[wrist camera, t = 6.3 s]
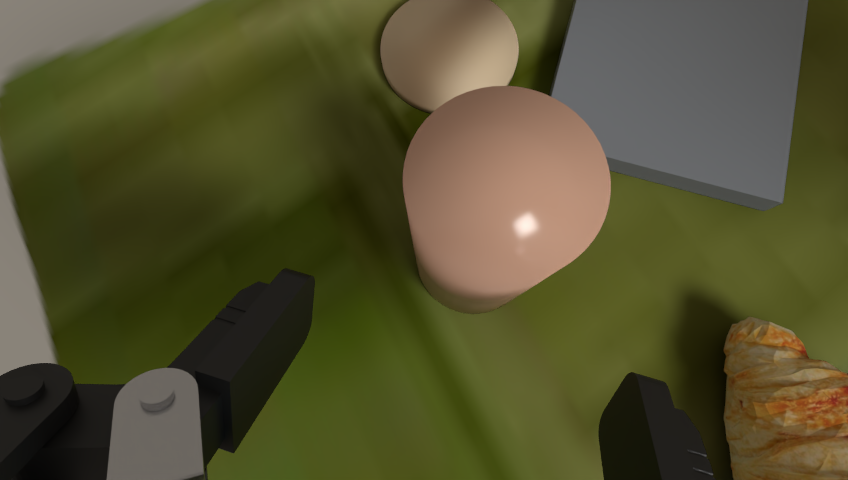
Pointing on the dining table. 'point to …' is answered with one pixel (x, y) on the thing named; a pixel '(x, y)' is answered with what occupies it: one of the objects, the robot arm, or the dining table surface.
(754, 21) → the slate board
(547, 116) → the pinkish tan rounded cylinder
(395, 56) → the cork coaster
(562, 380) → the dining table surface
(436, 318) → the dining table surface
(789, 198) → the dining table surface
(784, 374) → the croissant
